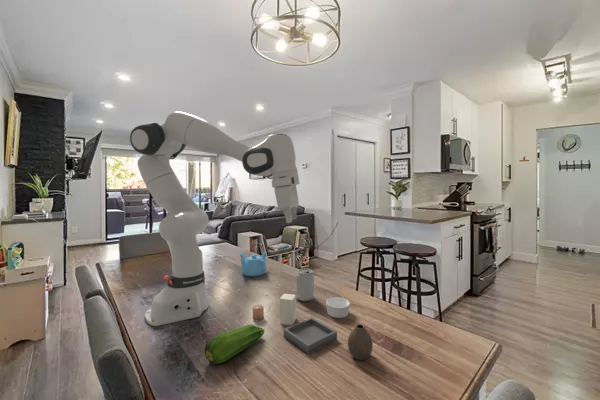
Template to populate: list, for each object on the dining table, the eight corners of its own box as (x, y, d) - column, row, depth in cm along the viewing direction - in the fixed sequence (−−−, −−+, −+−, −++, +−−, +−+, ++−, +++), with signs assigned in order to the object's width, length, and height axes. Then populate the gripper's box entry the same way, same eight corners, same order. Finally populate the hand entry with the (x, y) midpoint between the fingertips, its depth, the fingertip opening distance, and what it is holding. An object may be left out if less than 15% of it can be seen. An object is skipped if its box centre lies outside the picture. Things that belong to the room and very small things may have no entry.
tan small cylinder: (256, 321, 101) (256, 310, 101) (250, 317, 104) (250, 307, 104) (265, 318, 103) (265, 307, 103) (260, 314, 106) (260, 303, 106)
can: (312, 302, 116) (312, 274, 115) (294, 301, 117) (294, 273, 116) (315, 295, 123) (315, 268, 122) (298, 294, 125) (298, 267, 124)
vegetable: (203, 335, 77) (259, 310, 92) (197, 353, 80) (253, 325, 95) (217, 356, 73) (273, 326, 88) (211, 375, 76) (266, 342, 91)
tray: (307, 354, 82) (307, 345, 82) (283, 336, 91) (283, 329, 91) (336, 339, 89) (336, 331, 89) (311, 324, 99) (311, 317, 99)
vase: (345, 349, 84) (345, 320, 83) (367, 348, 85) (368, 319, 84) (351, 364, 77) (351, 333, 77) (375, 363, 78) (376, 332, 77)
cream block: (292, 325, 98) (292, 300, 98) (280, 323, 99) (279, 298, 99) (296, 318, 103) (295, 294, 102) (284, 317, 104) (284, 293, 103)
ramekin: (351, 309, 110) (351, 299, 109) (347, 320, 101) (347, 309, 101) (329, 306, 112) (329, 296, 112) (323, 317, 104) (323, 305, 104)
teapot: (268, 277, 147) (268, 257, 146) (239, 279, 144) (238, 259, 143) (266, 268, 161) (266, 250, 160) (239, 270, 158) (239, 252, 157)
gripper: (283, 182, 108) (288, 218, 108) (270, 182, 88) (276, 226, 88) (299, 180, 107) (304, 216, 108) (289, 178, 87) (296, 223, 87)
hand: (292, 220), depth 98 cm, fingers open, 8 cm apart
